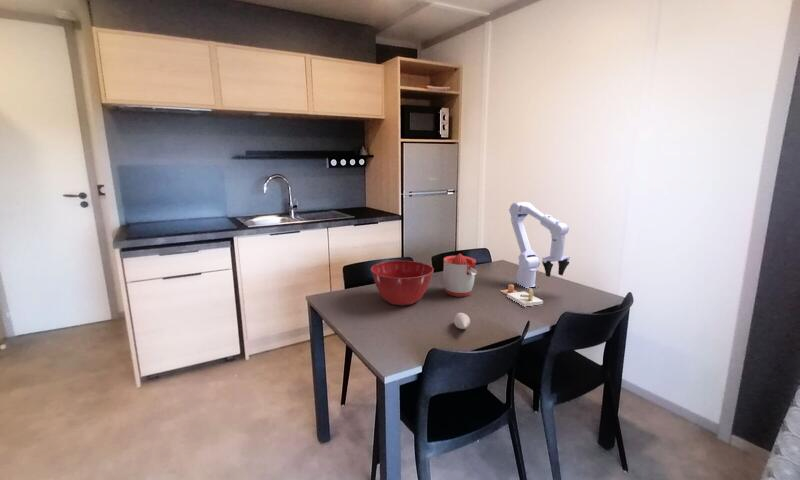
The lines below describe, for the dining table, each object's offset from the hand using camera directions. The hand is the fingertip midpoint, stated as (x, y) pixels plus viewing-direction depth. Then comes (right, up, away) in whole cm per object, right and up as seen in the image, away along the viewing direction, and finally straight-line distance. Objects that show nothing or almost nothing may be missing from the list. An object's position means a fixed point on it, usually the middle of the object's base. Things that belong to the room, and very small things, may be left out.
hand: (554, 275), depth 187 cm
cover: (-20, -10, +3) cm, 23 cm away
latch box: (-17, -11, -7) cm, 21 cm away
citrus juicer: (-46, -9, +2) cm, 47 cm away
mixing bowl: (-74, -11, -8) cm, 75 cm away
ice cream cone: (-51, -18, -37) cm, 65 cm away
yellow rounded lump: (-17, -10, -11) cm, 22 cm away
